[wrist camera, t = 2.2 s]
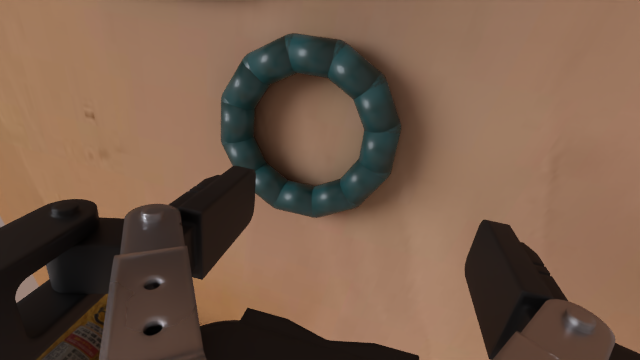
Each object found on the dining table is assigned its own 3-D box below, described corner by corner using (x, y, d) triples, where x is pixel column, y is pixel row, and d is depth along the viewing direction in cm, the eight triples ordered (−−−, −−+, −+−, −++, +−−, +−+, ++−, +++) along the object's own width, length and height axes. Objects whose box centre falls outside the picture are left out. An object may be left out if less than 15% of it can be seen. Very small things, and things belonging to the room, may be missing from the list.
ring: (418, 50, 18) (420, 51, 16) (378, 222, 22) (376, 238, 20) (231, 23, 19) (214, 22, 18) (229, 188, 24) (215, 200, 22)
